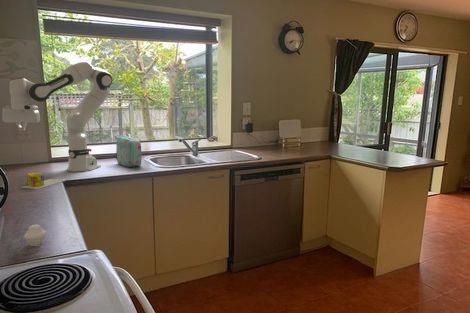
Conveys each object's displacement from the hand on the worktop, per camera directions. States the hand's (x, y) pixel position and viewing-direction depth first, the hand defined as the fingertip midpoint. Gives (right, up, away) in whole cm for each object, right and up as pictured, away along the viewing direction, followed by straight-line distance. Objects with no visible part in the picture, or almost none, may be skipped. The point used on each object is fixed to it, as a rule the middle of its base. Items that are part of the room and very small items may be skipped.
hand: (22, 130), depth 195 cm
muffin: (+59, -45, -85) cm, 113 cm away
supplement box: (+10, -27, -6) cm, 30 cm away
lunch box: (+46, -22, +50) cm, 71 cm away
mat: (+17, -31, -7) cm, 36 cm away
